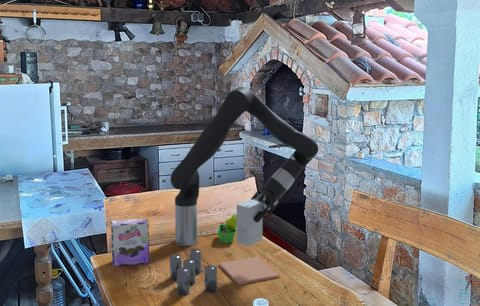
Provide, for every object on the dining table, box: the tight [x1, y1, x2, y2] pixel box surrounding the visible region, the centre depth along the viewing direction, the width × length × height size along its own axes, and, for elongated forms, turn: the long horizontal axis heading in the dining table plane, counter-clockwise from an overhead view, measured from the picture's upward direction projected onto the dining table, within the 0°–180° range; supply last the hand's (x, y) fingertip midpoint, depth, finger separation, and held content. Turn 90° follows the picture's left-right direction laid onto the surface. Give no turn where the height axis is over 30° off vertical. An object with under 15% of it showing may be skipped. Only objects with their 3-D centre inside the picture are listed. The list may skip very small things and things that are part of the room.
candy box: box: [110, 218, 150, 268], centre depth 182 cm, size 14×6×16 cm, turn 105°
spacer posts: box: [169, 248, 218, 296], centre depth 165 cm, size 20×13×8 cm, turn 24°
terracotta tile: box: [218, 256, 280, 286], centre depth 176 cm, size 18×16×1 cm
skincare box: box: [236, 198, 264, 247], centre depth 172 cm, size 8×6×15 cm
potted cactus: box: [217, 214, 237, 244], centre depth 207 cm, size 11×9×11 cm
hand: (250, 217), depth 173 cm, fingers closed on skincare box, 7 cm apart
